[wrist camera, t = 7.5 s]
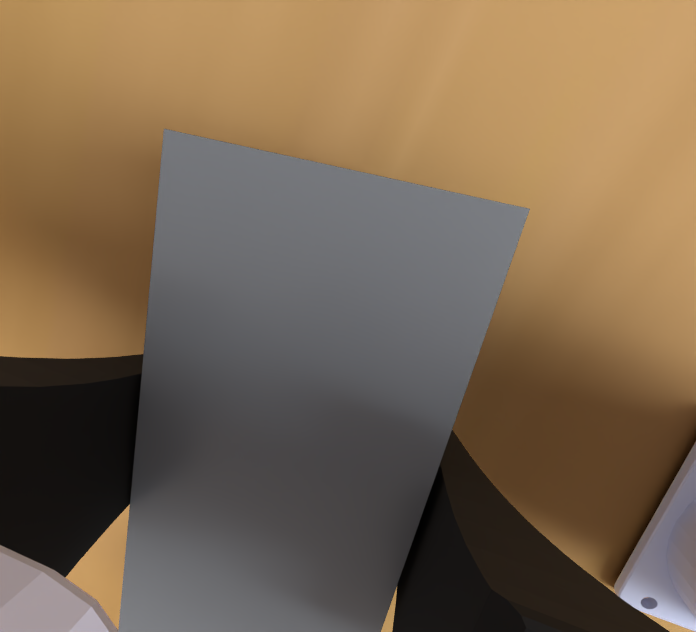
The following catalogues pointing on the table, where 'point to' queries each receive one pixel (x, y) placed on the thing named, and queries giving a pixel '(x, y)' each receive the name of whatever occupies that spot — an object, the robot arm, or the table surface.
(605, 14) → the table surface
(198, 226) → the tall grey brick
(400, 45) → the table surface
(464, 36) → the table surface
